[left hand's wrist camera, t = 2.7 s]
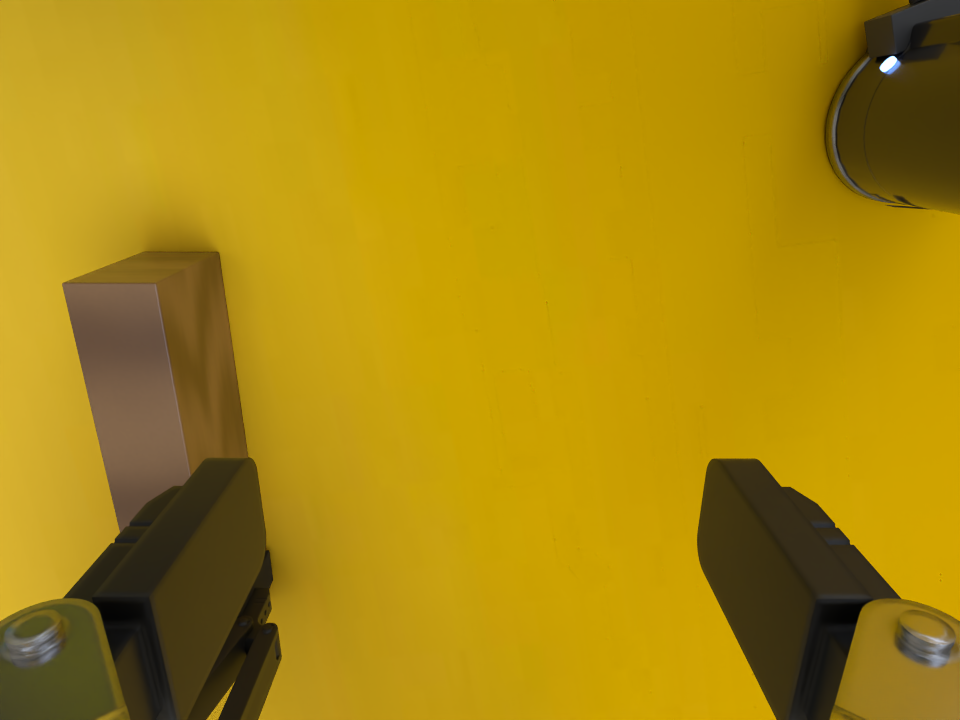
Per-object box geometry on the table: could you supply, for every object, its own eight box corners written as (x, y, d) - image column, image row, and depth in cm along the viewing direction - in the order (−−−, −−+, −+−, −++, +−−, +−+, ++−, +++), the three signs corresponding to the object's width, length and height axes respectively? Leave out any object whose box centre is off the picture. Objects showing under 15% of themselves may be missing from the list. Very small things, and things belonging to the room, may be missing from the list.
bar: (142, 251, 40) (61, 282, 33) (219, 251, 40) (156, 283, 33) (207, 598, 50) (155, 687, 42) (268, 598, 50) (229, 688, 42)
